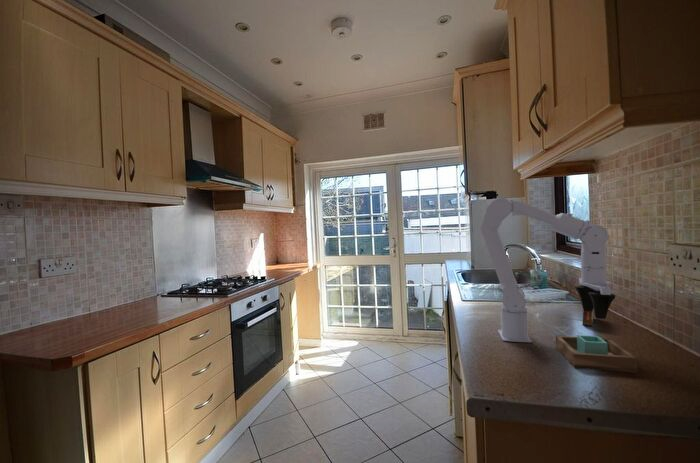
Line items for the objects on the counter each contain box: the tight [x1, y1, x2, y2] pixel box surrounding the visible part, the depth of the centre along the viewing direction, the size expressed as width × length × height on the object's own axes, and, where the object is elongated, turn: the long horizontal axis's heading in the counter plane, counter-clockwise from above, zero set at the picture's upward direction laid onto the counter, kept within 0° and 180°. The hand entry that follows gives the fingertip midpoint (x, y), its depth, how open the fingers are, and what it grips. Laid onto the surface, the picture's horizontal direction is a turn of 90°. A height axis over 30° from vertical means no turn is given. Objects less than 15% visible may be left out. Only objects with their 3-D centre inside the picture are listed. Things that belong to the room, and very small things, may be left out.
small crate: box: [576, 334, 608, 355], centre depth 85 cm, size 5×5×4 cm
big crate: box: [555, 335, 638, 374], centre depth 85 cm, size 13×13×4 cm
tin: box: [582, 308, 595, 327], centre depth 114 cm, size 15×3×8 cm, turn 141°
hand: (594, 314), depth 92 cm, fingers open, 7 cm apart
